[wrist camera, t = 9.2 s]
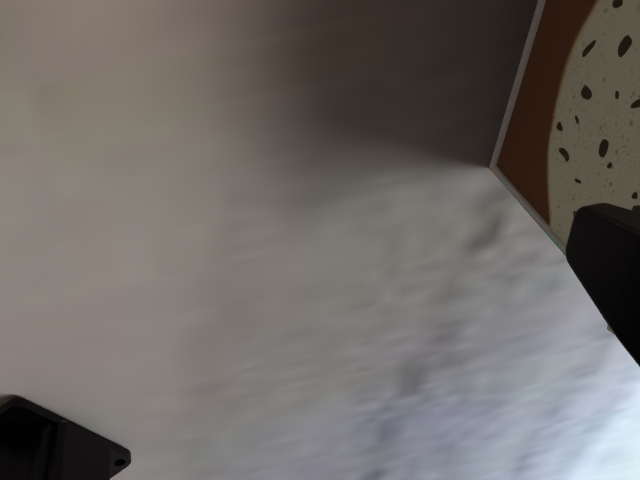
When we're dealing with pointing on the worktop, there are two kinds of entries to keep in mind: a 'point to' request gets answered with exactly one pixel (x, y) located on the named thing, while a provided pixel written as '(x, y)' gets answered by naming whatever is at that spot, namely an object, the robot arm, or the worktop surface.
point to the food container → (574, 113)
